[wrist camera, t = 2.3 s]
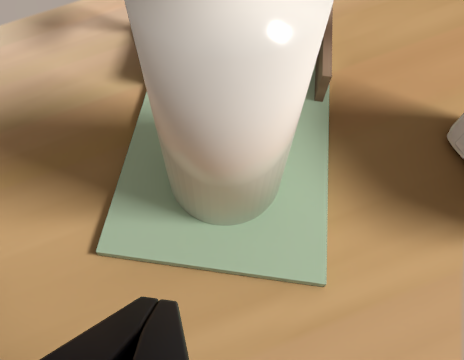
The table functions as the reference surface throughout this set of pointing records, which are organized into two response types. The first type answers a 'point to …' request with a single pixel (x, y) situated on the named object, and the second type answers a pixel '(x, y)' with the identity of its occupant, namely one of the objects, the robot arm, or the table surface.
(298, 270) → the green mat
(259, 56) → the white rounded block
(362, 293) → the table surface
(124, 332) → the robot arm
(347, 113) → the table surface
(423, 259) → the table surface
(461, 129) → the photo printer
